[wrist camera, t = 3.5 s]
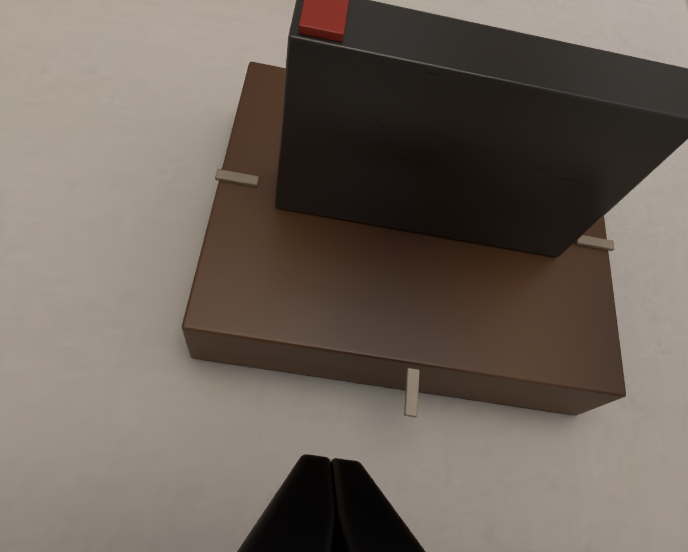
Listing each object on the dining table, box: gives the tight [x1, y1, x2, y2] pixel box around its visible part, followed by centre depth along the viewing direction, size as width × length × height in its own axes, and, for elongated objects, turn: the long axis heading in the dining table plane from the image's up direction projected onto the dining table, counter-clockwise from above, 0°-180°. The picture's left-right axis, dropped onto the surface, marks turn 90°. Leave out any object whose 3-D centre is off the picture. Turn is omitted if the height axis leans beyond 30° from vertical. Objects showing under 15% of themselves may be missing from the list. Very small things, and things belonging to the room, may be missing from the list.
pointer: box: [275, 0, 688, 257], centre depth 16 cm, size 10×2×7 cm, turn 84°
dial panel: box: [182, 62, 626, 417], centre depth 21 cm, size 14×14×3 cm
